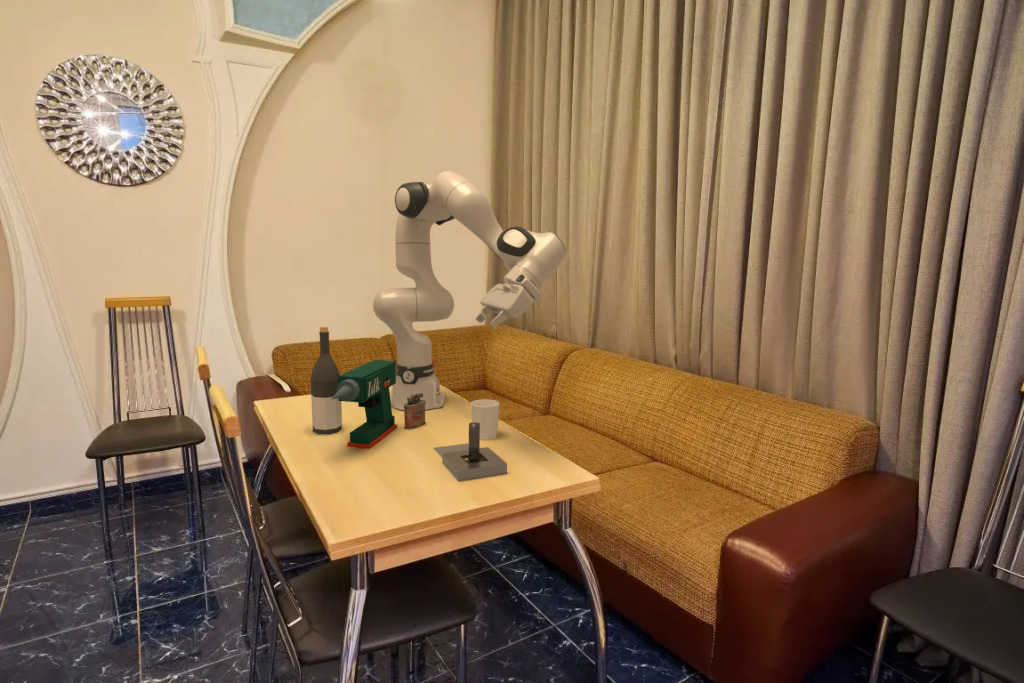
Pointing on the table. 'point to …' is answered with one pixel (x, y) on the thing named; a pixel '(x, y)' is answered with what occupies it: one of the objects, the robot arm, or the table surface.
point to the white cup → (486, 417)
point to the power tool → (369, 400)
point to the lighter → (414, 411)
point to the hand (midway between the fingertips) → (484, 323)
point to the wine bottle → (325, 390)
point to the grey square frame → (474, 464)
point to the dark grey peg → (474, 442)
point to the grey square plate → (451, 448)
